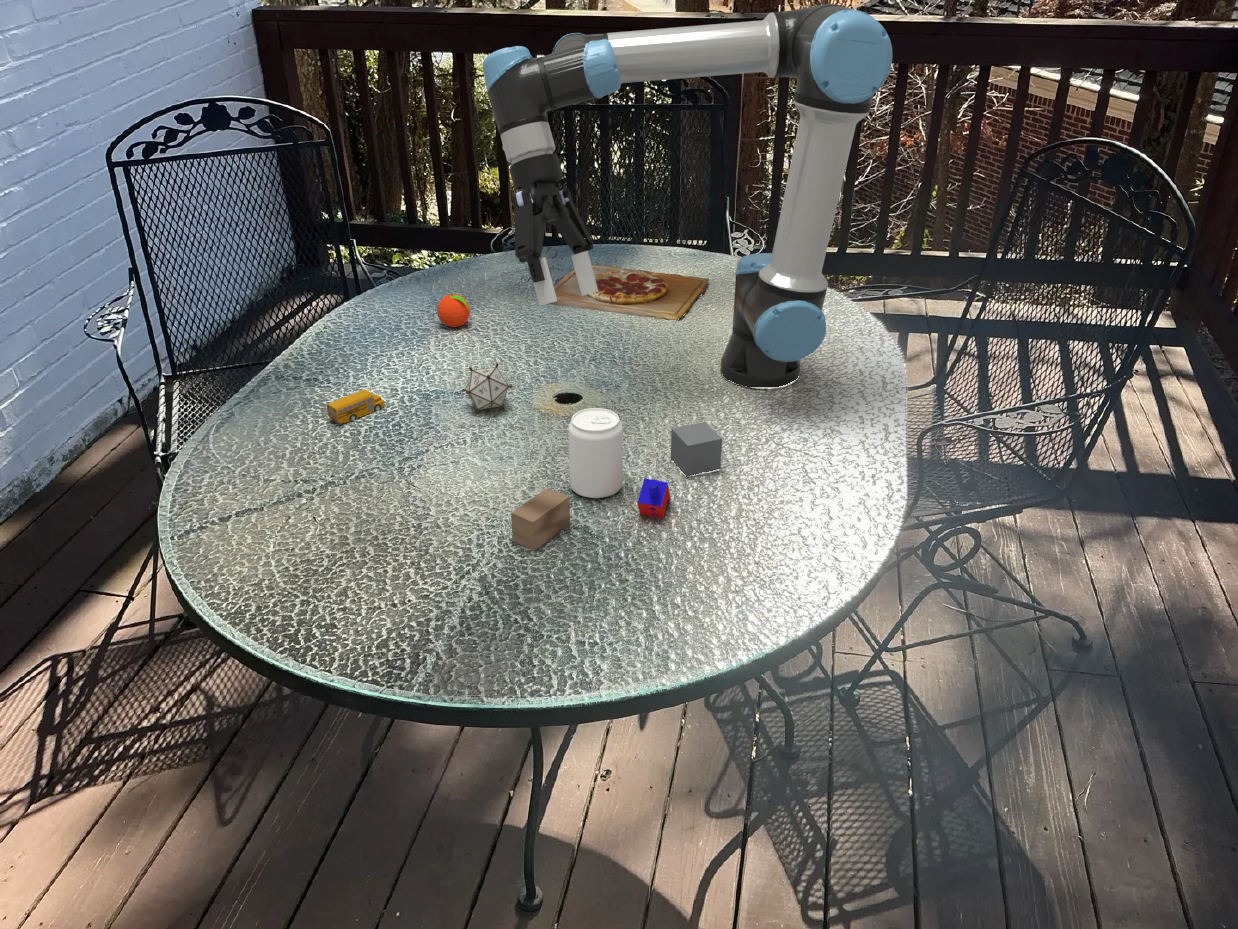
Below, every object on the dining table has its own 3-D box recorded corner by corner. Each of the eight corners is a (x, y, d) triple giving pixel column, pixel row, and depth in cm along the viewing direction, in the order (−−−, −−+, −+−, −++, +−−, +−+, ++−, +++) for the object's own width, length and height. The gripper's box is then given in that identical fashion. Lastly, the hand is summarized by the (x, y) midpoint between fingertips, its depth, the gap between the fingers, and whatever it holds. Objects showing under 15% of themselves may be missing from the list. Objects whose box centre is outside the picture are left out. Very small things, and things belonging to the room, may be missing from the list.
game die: (496, 430, 169) (500, 405, 160) (453, 411, 169) (454, 385, 159) (516, 390, 173) (521, 364, 164) (473, 372, 172) (477, 344, 163)
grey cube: (703, 453, 154) (705, 421, 151) (720, 471, 150) (722, 438, 147) (670, 460, 153) (671, 428, 149) (686, 478, 148) (687, 445, 145)
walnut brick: (548, 516, 139) (547, 487, 136) (570, 525, 137) (569, 496, 134) (512, 541, 133) (510, 512, 131) (534, 551, 131) (532, 522, 129)
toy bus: (385, 408, 168) (383, 389, 166) (339, 428, 162) (335, 408, 160) (375, 403, 170) (372, 384, 168) (328, 422, 164) (325, 402, 162)
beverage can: (569, 474, 149) (567, 407, 142) (620, 472, 149) (620, 405, 143) (571, 502, 142) (569, 433, 136) (624, 500, 142) (624, 431, 136)
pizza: (533, 307, 211) (532, 292, 209) (575, 267, 234) (575, 253, 232) (684, 325, 202) (685, 309, 200) (713, 282, 225) (713, 267, 223)
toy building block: (641, 520, 141) (634, 493, 134) (648, 496, 143) (642, 468, 136) (664, 524, 140) (659, 497, 133) (670, 499, 142) (666, 472, 135)
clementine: (481, 325, 201) (479, 293, 197) (460, 335, 196) (457, 303, 192) (453, 317, 205) (450, 286, 201) (431, 327, 200) (428, 296, 196)
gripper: (551, 167, 153) (586, 295, 156) (465, 165, 131) (507, 314, 135) (591, 152, 149) (625, 284, 153) (508, 148, 128) (550, 301, 131)
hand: (570, 298), depth 144 cm, fingers open, 13 cm apart
